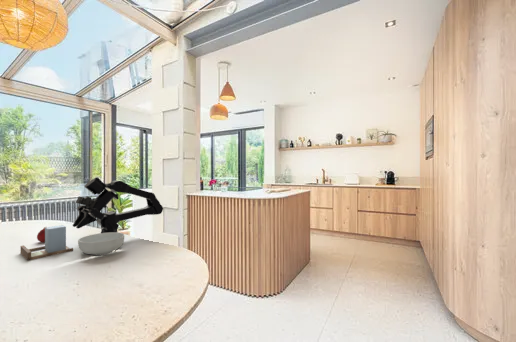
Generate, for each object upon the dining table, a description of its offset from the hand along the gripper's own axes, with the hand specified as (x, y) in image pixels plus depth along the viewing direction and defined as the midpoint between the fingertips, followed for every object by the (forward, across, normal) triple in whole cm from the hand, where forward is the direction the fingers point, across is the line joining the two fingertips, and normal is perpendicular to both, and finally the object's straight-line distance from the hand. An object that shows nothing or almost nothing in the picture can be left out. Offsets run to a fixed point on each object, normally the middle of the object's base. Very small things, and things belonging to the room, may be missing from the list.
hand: (75, 227), depth 111 cm
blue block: (+11, 0, +1) cm, 11 cm away
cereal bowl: (+3, +16, +10) cm, 20 cm away
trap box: (+14, 0, 0) cm, 14 cm away
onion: (+12, -19, +2) cm, 23 cm away
